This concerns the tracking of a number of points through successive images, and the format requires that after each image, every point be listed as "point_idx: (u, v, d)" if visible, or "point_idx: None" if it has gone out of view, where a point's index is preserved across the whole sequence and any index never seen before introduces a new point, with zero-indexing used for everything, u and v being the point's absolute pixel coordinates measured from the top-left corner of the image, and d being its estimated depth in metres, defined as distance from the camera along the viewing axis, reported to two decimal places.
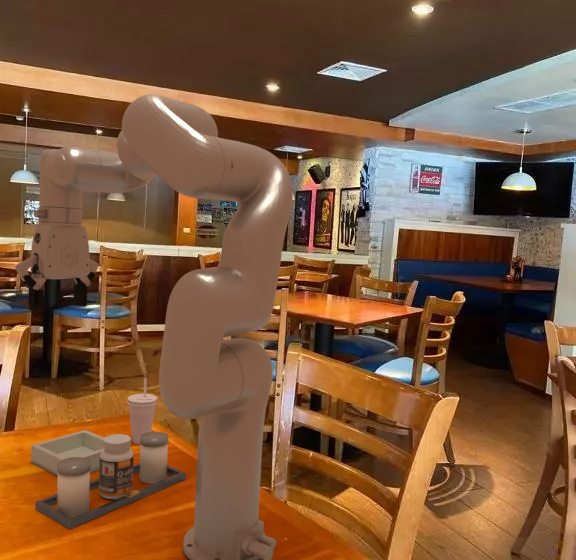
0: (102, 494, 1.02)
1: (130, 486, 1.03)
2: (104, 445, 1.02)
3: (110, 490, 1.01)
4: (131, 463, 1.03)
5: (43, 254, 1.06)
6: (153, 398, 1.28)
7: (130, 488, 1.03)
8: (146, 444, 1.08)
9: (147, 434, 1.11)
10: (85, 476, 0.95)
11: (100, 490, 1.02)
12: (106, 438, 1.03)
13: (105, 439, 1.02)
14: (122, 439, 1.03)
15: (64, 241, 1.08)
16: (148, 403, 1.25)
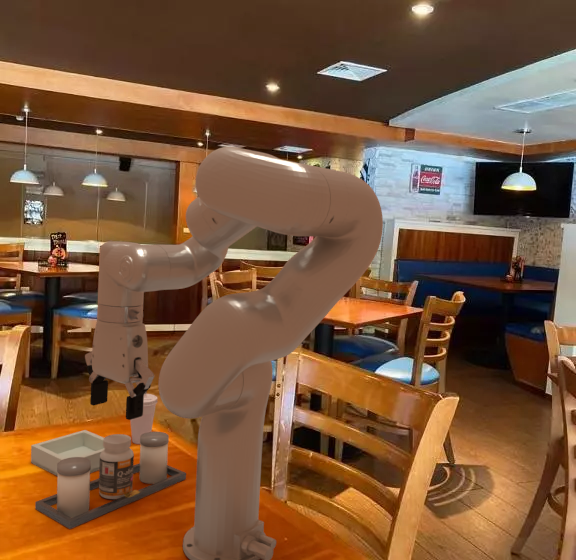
0: (102, 494, 1.02)
1: (130, 486, 1.03)
2: (104, 445, 1.02)
3: (110, 490, 1.01)
4: (131, 463, 1.03)
5: (146, 356, 1.01)
6: (153, 398, 1.28)
7: (130, 488, 1.03)
8: (146, 444, 1.08)
9: (147, 434, 1.11)
10: (85, 476, 0.95)
11: (100, 490, 1.02)
12: (106, 438, 1.03)
13: (105, 439, 1.02)
14: (122, 439, 1.03)
15: None
16: (148, 403, 1.25)
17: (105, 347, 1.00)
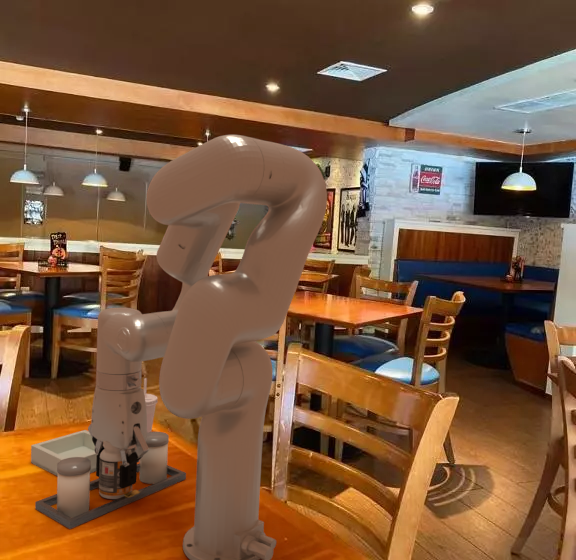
0: (102, 494, 1.02)
1: (130, 486, 1.03)
2: (104, 445, 1.02)
3: (110, 490, 1.01)
4: None
5: (145, 421, 1.01)
6: (153, 398, 1.28)
7: (130, 488, 1.03)
8: None
9: (147, 434, 1.11)
10: (85, 476, 0.95)
11: (100, 490, 1.02)
12: None
13: None
14: None
15: None
16: (148, 403, 1.25)
17: (104, 413, 1.01)
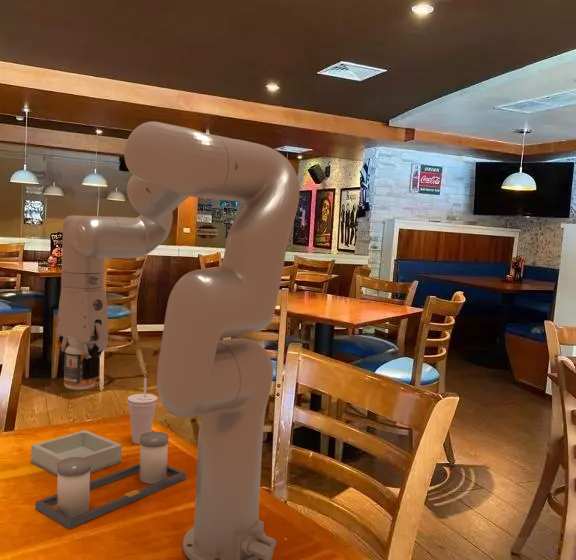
0: (66, 385, 1.11)
1: (93, 379, 1.13)
2: (69, 340, 1.11)
3: (73, 381, 1.11)
4: None
5: (106, 318, 1.11)
6: (153, 398, 1.28)
7: (93, 381, 1.13)
8: (146, 444, 1.08)
9: (147, 434, 1.11)
10: (85, 476, 0.95)
11: (65, 381, 1.12)
12: None
13: None
14: None
15: None
16: (148, 403, 1.25)
17: (69, 311, 1.11)
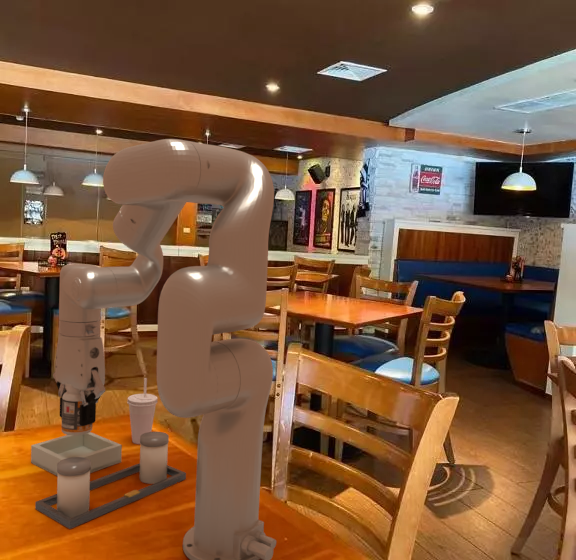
0: (64, 431, 1.13)
1: (90, 425, 1.14)
2: (66, 387, 1.13)
3: (71, 427, 1.12)
4: None
5: (103, 365, 1.13)
6: (153, 398, 1.28)
7: (90, 426, 1.14)
8: (146, 444, 1.08)
9: (147, 434, 1.11)
10: (85, 476, 0.95)
11: (62, 427, 1.13)
12: None
13: None
14: None
15: None
16: (148, 403, 1.25)
17: (66, 358, 1.12)
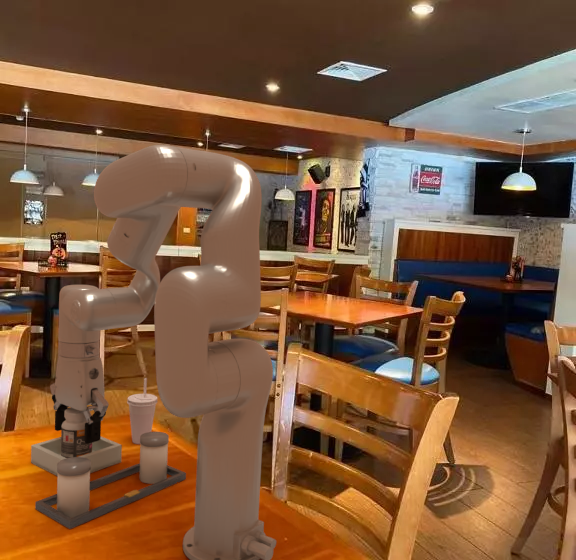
0: None
1: None
2: (65, 416, 1.13)
3: (70, 456, 1.13)
4: None
5: (102, 386, 1.13)
6: (153, 398, 1.28)
7: None
8: (146, 444, 1.08)
9: (147, 434, 1.11)
10: (85, 476, 0.95)
11: None
12: (67, 410, 1.15)
13: (66, 410, 1.14)
14: None
15: None
16: (148, 403, 1.25)
17: (65, 379, 1.12)
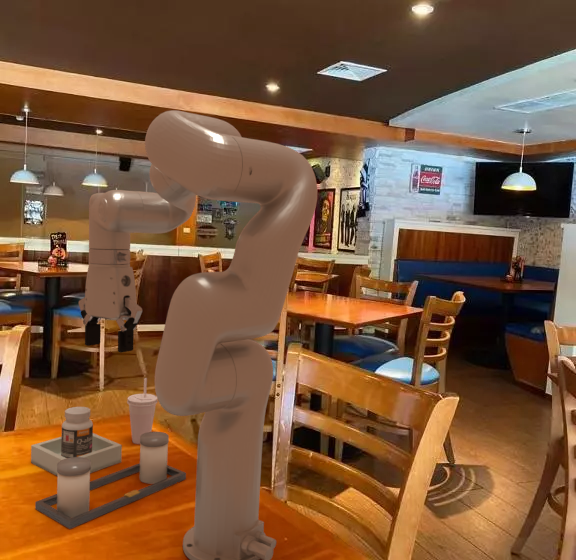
0: None
1: None
2: (65, 415, 1.13)
3: (70, 456, 1.13)
4: (90, 432, 1.15)
5: (134, 295, 1.11)
6: (153, 398, 1.28)
7: None
8: (146, 444, 1.08)
9: (147, 434, 1.11)
10: (85, 476, 0.95)
11: None
12: (68, 409, 1.15)
13: (67, 410, 1.14)
14: (82, 410, 1.15)
15: None
16: (148, 403, 1.25)
17: (97, 288, 1.11)
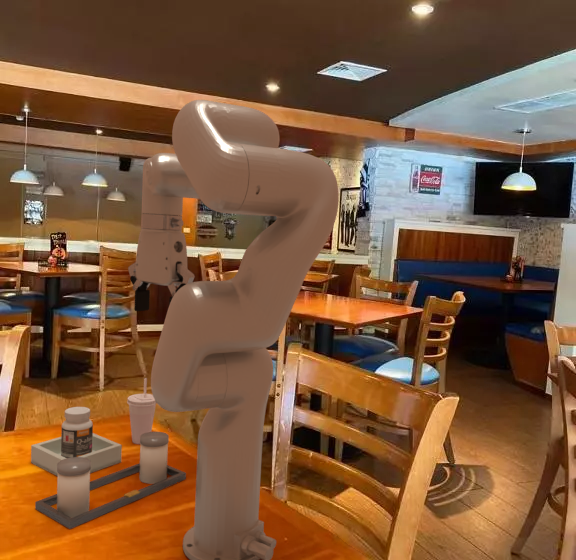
0: None
1: None
2: (65, 416, 1.13)
3: (70, 456, 1.13)
4: (90, 432, 1.15)
5: (186, 261, 1.11)
6: (153, 398, 1.28)
7: None
8: (146, 444, 1.08)
9: (147, 434, 1.11)
10: (85, 476, 0.95)
11: None
12: (67, 410, 1.15)
13: (66, 410, 1.14)
14: (82, 410, 1.15)
15: None
16: (148, 403, 1.25)
17: (149, 253, 1.10)
